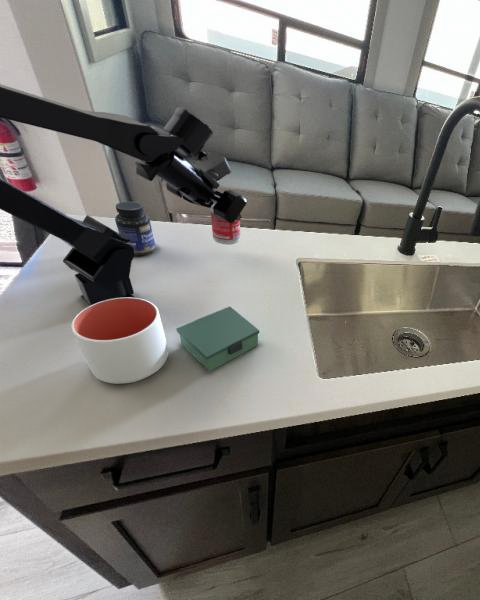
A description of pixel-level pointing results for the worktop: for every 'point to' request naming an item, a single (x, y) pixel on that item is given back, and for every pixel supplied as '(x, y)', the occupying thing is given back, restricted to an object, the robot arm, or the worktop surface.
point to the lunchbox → (218, 337)
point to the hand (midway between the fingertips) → (230, 213)
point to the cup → (121, 339)
